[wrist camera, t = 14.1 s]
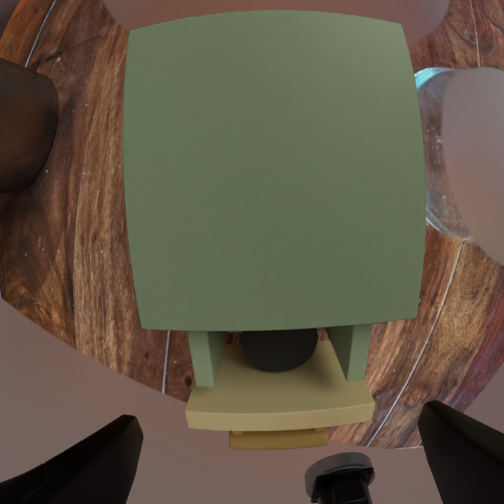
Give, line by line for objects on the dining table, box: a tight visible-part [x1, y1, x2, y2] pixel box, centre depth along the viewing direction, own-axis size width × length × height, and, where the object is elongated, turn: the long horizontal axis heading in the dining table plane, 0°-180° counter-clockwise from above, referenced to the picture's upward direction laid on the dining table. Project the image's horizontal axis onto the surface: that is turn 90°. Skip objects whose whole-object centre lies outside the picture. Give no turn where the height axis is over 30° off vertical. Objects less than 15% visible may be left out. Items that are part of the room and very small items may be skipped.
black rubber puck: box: [241, 328, 318, 372], centre depth 14 cm, size 4×4×2 cm
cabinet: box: [123, 10, 426, 331], centre depth 12 cm, size 11×10×8 cm
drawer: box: [184, 323, 375, 450], centre depth 14 cm, size 13×8×6 cm, turn 3°
